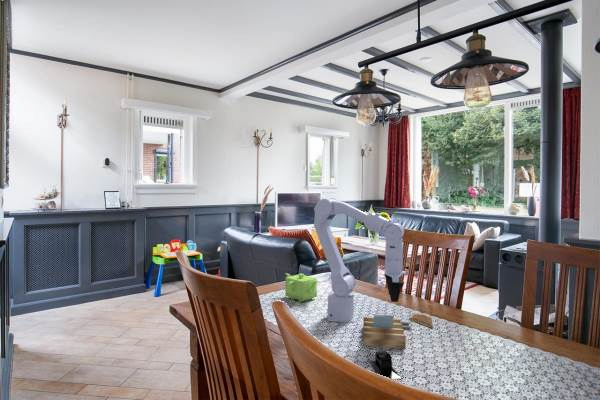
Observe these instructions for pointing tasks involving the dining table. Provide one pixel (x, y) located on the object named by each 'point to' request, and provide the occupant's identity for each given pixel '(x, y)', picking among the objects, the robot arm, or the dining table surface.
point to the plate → (383, 321)
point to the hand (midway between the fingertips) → (393, 298)
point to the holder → (405, 325)
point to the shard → (422, 319)
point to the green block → (301, 287)
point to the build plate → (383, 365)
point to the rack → (383, 334)
